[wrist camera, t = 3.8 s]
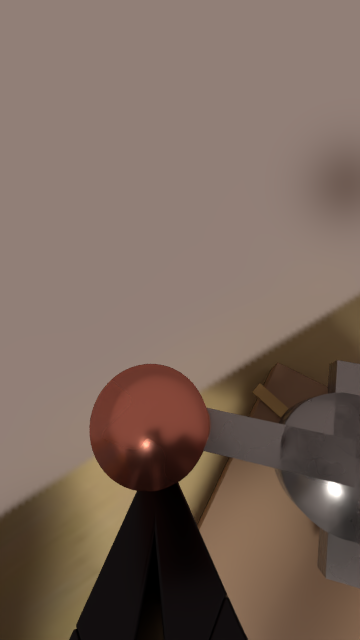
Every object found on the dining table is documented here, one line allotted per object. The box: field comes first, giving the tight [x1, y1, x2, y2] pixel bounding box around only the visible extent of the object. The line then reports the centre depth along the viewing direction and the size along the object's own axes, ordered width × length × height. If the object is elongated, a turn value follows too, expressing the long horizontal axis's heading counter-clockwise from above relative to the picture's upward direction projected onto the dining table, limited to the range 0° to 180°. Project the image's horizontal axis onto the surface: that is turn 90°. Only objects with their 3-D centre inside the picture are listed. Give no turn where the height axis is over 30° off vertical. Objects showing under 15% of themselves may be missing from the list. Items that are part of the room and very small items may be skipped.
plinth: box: [197, 363, 360, 640], centre depth 13 cm, size 12×13×4 cm
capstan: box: [90, 360, 360, 588], centre depth 10 cm, size 12×8×10 cm
